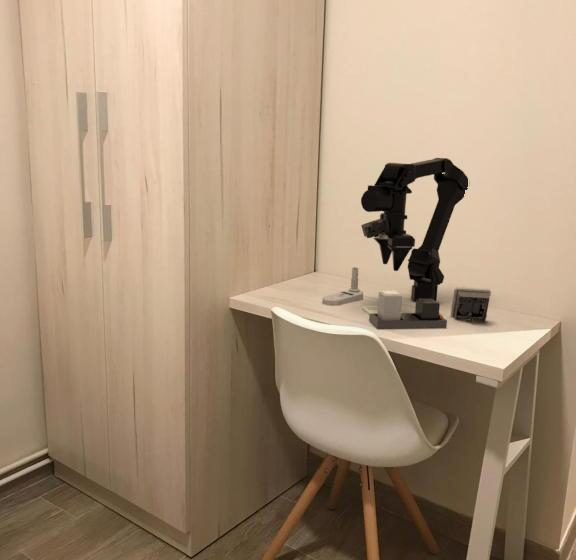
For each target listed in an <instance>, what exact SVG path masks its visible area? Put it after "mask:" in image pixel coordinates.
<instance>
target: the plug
mask: <svg viewBox="0 0 576 560" xmlns="http://www.w3.org/2000/svg"><path fill="white" fill-rule="evenodd" d="M402 300H403V295H401V294H400V293H399V292H397V291H396V290H381V291H378V300H377V306H378V313H377V317H378V318H379V319H380V320H381V321H394V320H400V315H401V312H402V304H403V303H402Z"/></svg>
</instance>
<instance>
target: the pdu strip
mask: <svg viewBox="0 0 576 560" xmlns="http://www.w3.org/2000/svg"><path fill="white" fill-rule="evenodd" d="M438 302H439V301H437V300H436V301H435V300H433V299H416V302H415V308H414V309H415V310H414V313H413V312H411V313H410V312H405V313H404V312H402V313H401V315H400V320H394V321H381V320H380V319H379V318H378V317H377V313H370V314H369V315H368V317H369V318H368V321H369V323H370V324H371V325H372V326H374V328H375V329H376V330H412V329H413V330H417V329H418V330H419V329H420V330H422V329H423V330H425V329H426V330H428V329H429V330H430V329H433V330H434V329H435V330H436V329H447V327H448V326H447V325H448V319H446V318H444V315H443V314H442V313H440V306H441V303H440V302H439V303H438Z"/></svg>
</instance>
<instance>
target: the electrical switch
mask: <svg viewBox="0 0 576 560" xmlns="http://www.w3.org/2000/svg"><path fill="white" fill-rule="evenodd" d="M491 295H492V292H491V289H489V288H481V287H465V286H464V287H463V286H462V287H461V286H460V287H459V286H456V287H455V288H454V289H453V297H452V304H451V309H450V317H453V318H454V320H455V321H456V320H457V319H462V320H463V321H464V322H466V323H474V324H477V323H478V324H485V323H486V319H487V316H488V314H487V313H488V309H489V304H490V303H489V302H490V297H491Z"/></svg>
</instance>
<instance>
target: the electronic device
mask: <svg viewBox="0 0 576 560" xmlns="http://www.w3.org/2000/svg"><path fill="white" fill-rule="evenodd" d="M350 281H351V283H350V288H348V289H347V290H343V291H340V292H336V293H332V294H328V295H324V296H322V301H321V302H322V305H325V306H329V307H330V306H332V307H335V306H336V307H337V306H342V305H346V304H349V303H356V302H359V301H362V300H364V292H363V291H362V290H360V288H359V267H356V266H355V267H352V268H351V278H350Z"/></svg>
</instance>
